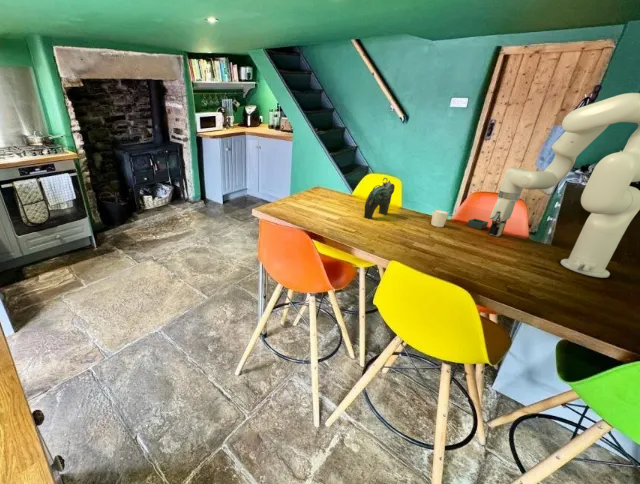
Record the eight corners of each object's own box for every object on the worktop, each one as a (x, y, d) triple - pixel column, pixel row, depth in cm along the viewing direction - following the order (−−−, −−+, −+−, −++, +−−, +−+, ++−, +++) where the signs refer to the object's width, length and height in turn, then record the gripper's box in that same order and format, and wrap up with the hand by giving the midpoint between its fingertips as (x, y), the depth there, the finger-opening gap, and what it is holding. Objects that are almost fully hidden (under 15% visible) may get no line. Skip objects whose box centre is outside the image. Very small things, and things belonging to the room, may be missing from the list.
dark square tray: (480, 229, 147) (482, 224, 146) (467, 225, 152) (468, 220, 150) (486, 227, 150) (488, 222, 149) (472, 223, 155) (474, 218, 154)
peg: (497, 236, 139) (501, 224, 137) (489, 234, 141) (493, 222, 139) (500, 235, 141) (504, 223, 138) (492, 232, 143) (496, 221, 141)
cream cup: (445, 224, 151) (449, 211, 148) (445, 228, 145) (449, 214, 143) (430, 221, 154) (433, 208, 152) (429, 225, 149) (432, 211, 146)
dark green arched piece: (381, 211, 167) (388, 175, 160) (392, 214, 162) (400, 177, 155) (360, 216, 155) (367, 178, 148) (371, 220, 151) (379, 181, 144)
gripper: (506, 192, 142) (493, 228, 148) (490, 195, 133) (477, 233, 139) (526, 196, 136) (512, 233, 142) (511, 200, 127) (496, 239, 133)
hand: (495, 233), depth 141 cm, fingers open, 5 cm apart
